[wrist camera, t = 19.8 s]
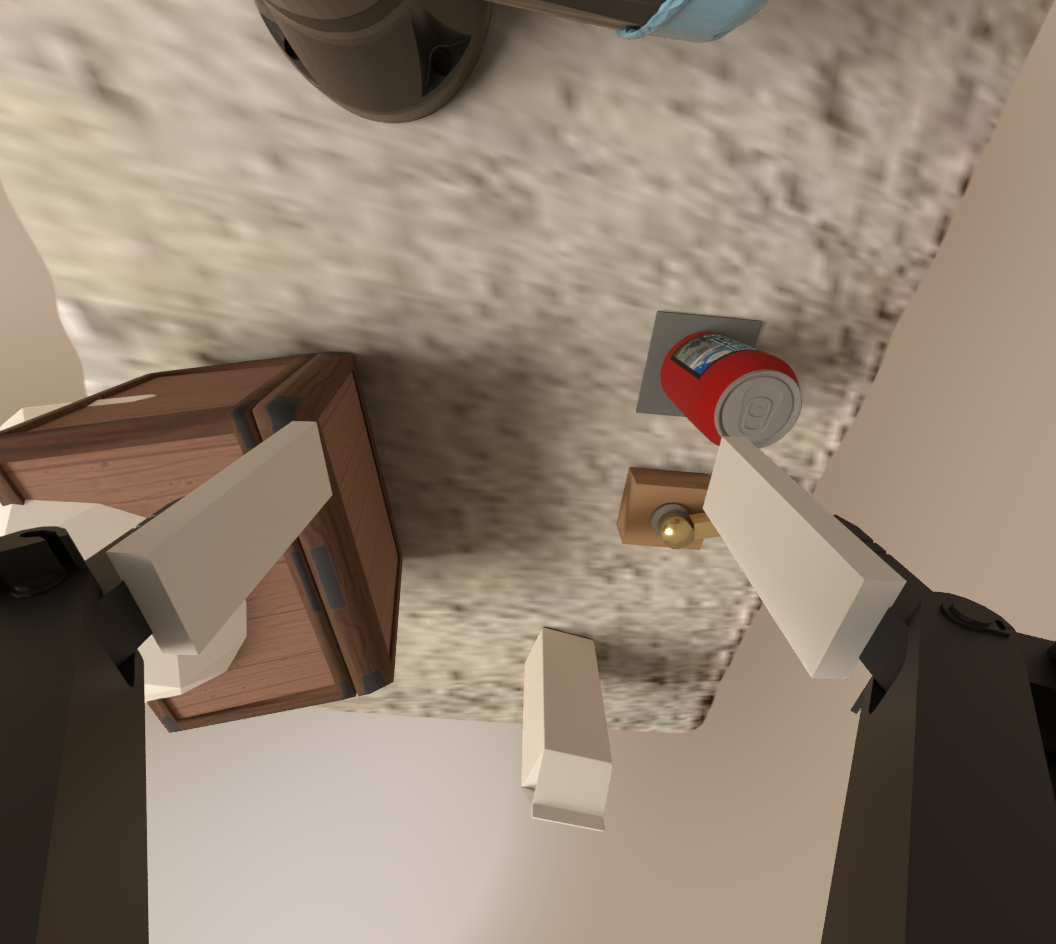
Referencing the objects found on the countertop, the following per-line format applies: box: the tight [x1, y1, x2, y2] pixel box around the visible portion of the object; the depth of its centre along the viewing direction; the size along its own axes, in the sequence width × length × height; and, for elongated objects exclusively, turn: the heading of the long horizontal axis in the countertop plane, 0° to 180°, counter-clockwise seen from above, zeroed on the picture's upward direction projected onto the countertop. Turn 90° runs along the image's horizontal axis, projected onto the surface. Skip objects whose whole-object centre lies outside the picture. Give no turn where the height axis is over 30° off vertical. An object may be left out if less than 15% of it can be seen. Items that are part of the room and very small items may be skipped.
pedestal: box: [617, 468, 711, 550], centre depth 43 cm, size 7×8×4 cm
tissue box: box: [0, 352, 402, 733], centre depth 34 cm, size 24×28×24 cm
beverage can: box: [660, 332, 802, 449], centre depth 32 cm, size 7×7×12 cm
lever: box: [657, 511, 720, 549], centre depth 39 cm, size 9×3×2 cm, turn 101°
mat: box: [636, 311, 762, 417], centre depth 38 cm, size 9×9×1 cm
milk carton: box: [522, 628, 613, 832], centre depth 47 cm, size 7×7×19 cm
